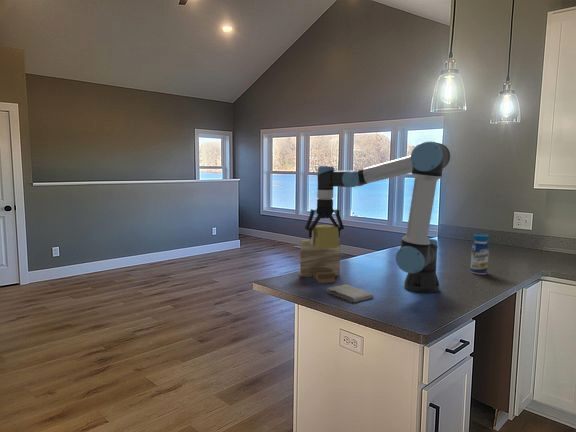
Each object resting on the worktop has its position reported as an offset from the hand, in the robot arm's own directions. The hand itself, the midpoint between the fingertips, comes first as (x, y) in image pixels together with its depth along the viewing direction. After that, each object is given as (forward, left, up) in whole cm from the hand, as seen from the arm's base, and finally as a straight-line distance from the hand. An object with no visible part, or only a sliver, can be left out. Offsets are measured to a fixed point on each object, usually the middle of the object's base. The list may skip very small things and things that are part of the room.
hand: (324, 244), depth 200 cm
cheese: (0, 0, -1) cm, 1 cm away
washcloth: (-26, -4, -18) cm, 32 cm away
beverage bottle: (+1, -84, -17) cm, 86 cm away
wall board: (+2, 0, -17) cm, 17 cm away
